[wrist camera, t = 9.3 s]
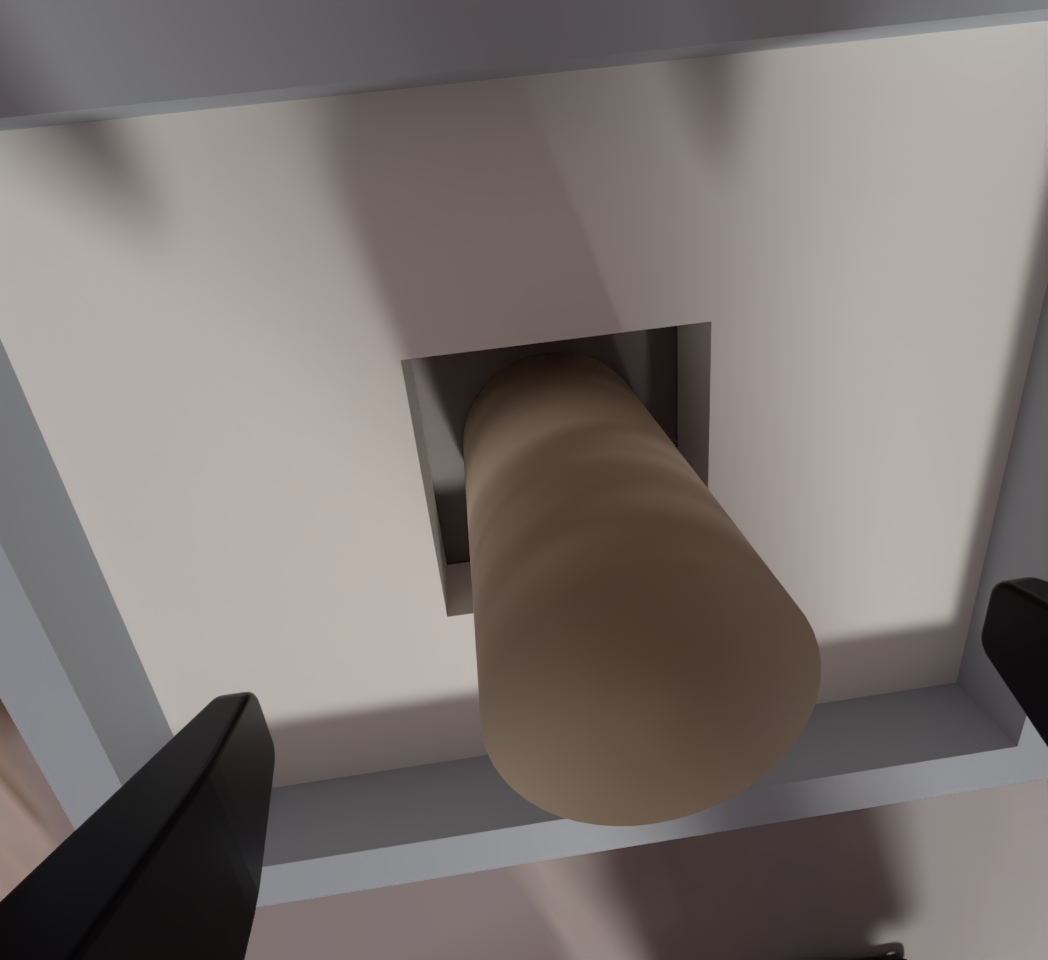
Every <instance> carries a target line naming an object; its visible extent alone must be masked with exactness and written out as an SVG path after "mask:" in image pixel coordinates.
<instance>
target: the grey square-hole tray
mask: <svg viewBox="0 0 1048 960" xmlns="http://www.w3.org/2000/svg"><path fill="white" fill-rule="evenodd" d="M671 326H678V450H679V452H680V453H681V454H682V456H683V457H684V458H685V460H686V461H687V462H688V463H689V465H690V466H691V467H692V469H693V470H694V471H695V473H696V474H697V475H698V476H699V478H700V479H701V480H702V482H703V483H704V484H705V486H706V487H707V488H708V489H709V491H710V492H711V493H712V495H713V496H714V497H715V499H716V500H717V501H718V503H719V504H720V505H721V506H722V508H723V509H724V510H725V512H726V513H727V514H728V516H729V517H730V518H731V519H732V521H733V522H734V523H735V525H736V526H737V527H738V529H739V530H740V531H741V533H742V534H743V535H744V536H745V538H746V539H747V540H748V542H749V543H750V544H751V546H752V547H753V548H754V549H755V551H756V552H757V553H758V555H759V556H760V557H761V559H762V560H763V561H764V563H765V564H766V565H767V566H768V568H769V569H770V570H771V572H772V573H773V574H774V576H775V577H776V578H777V579H778V581H779V582H780V583H781V585H782V586H783V587H784V589H785V590H786V591H787V592H788V594H789V595H790V596H791V598H792V599H793V600H794V602H795V603H796V604H797V606H798V607H799V608H800V609H801V611H802V612H803V613H804V615H805V616H806V618H807V620H808V622H809V624H810V625H811V627H812V629H813V631H814V634H815V637H816V640H817V643H818V646H819V652H820V659H821V682H820V687H819V692H818V697H817V700H816V703H815V706H814V709H813V712H812V714H811V717H810V718H809V720H808V722H807V724H806V726H805V728H804V730H803V732H802V733H801V735H800V736H799V738H798V739H797V740H796V742H795V743H794V745H793V746H792V748H791V749H790V750H789V751H788V752H787V753H786V754H785V756H784V757H783V758H782V759H781V760H780V761H779V762H778V763H777V764H776V765H775V766H774V767H773V768H772V769H771V770H770V771H768V772H767V773H766V774H765V775H764V776H763V777H761V778H760V779H759V780H757V781H756V782H755V783H753V784H752V785H751V786H749V787H748V788H746V789H744V790H743V791H741V792H740V793H738V794H736V795H735V796H733V797H731V798H729V799H727V800H725V801H723V802H721V803H719V804H717V805H715V806H713V807H711V808H708V809H706V810H703V811H701V812H698V813H696V814H692V815H689V816H686V817H682V818H679V819H676V820H671V821H666V822H661V823H656V824H648V825H639V826H604V825H594V824H588V823H582V822H577V821H573V820H570V819H566V818H563V817H559V816H557V815H555V814H552V813H550V812H547V811H545V810H543V809H541V808H539V807H537V806H536V805H534V804H532V803H531V802H529V801H527V800H526V799H525V798H523V797H522V796H521V795H519V794H518V793H517V792H516V791H514V790H513V789H512V788H511V787H510V786H509V785H508V784H507V783H506V781H505V780H504V779H503V778H502V777H501V776H500V774H499V773H498V771H497V770H496V768H495V767H494V765H493V764H492V762H491V759H490V757H489V755H488V753H487V751H486V748H485V744H484V741H483V737H482V733H481V721H480V706H479V691H478V675H477V659H476V643H475V628H474V612H473V596H472V581H471V565H470V562H464V563H457V564H450V565H447V563H446V557H445V551H444V546H443V540H442V534H441V528H440V523H439V517H438V511H437V506H436V500H435V494H434V488H433V483H432V477H431V471H430V465H429V460H428V454H427V448H426V443H425V437H424V431H423V425H422V420H421V414H420V408H419V402H418V397H417V391H416V385H415V380H414V374H413V368H412V362H411V359H415V358H423V357H431V356H439V355H447V354H455V353H463V352H471V351H479V350H487V349H495V348H503V347H511V346H519V345H527V344H535V343H543V342H551V341H559V340H567V339H575V338H583V337H591V336H599V335H607V334H615V333H623V332H631V331H639V330H647V329H655V328H663V327H671ZM1024 577H1035V578H1039V579H1042V580H1045V581H1048V0H0V698H1V700H2V702H3V704H4V705H5V707H6V709H7V711H8V712H9V714H10V716H11V718H12V720H13V721H14V723H15V725H16V727H17V728H18V730H19V732H20V734H21V735H22V737H23V739H24V741H25V742H26V744H27V746H28V748H29V750H30V751H31V753H32V755H33V757H34V758H35V760H36V762H37V763H38V765H39V767H40V769H41V771H42V772H43V774H44V776H45V778H46V780H47V781H48V783H49V785H50V787H51V788H52V790H53V792H54V794H55V795H56V797H57V799H58V801H59V802H60V804H61V806H62V808H63V810H64V811H65V813H66V815H67V817H68V818H69V820H70V822H71V824H72V825H73V827H74V829H75V830H76V829H77V828H78V827H79V826H81V825H82V824H83V823H84V822H85V821H86V820H87V819H88V818H89V817H90V816H91V815H92V814H93V813H94V812H95V811H96V810H97V809H98V808H99V807H100V806H102V805H103V804H104V803H105V802H106V801H107V800H108V799H109V798H110V797H111V796H112V795H113V794H114V793H115V792H116V791H117V790H118V789H119V788H120V787H121V786H123V785H124V784H125V783H126V782H127V781H128V780H129V779H130V778H131V777H132V776H133V775H134V774H135V773H136V772H137V771H138V770H139V769H140V768H141V767H142V766H144V765H145V764H146V763H147V762H148V761H149V760H150V759H151V758H152V757H153V756H154V755H155V754H156V753H157V752H158V751H159V750H160V749H161V748H162V747H163V746H165V745H166V744H167V743H168V742H169V741H170V740H171V739H172V738H173V737H174V736H175V735H176V734H177V733H178V732H179V731H180V730H181V729H182V728H183V727H184V726H186V725H187V724H188V723H189V722H190V721H191V720H192V719H193V718H194V717H195V716H196V715H197V714H198V713H199V712H200V711H201V710H202V709H203V708H204V707H205V706H207V705H208V704H209V703H210V702H211V701H212V700H213V699H214V698H216V697H218V696H221V695H227V694H234V693H240V692H251V693H254V694H255V695H256V697H257V698H258V700H259V703H260V706H261V708H262V711H263V714H264V717H265V720H266V723H267V725H268V728H269V731H270V734H271V737H272V740H273V743H274V749H275V765H274V773H273V782H272V790H271V799H270V807H269V816H268V824H267V833H266V841H265V850H264V858H263V867H262V874H261V882H260V889H259V895H258V900H257V905H256V907H261V906H268V905H273V904H279V903H286V902H292V901H298V900H305V899H311V898H317V897H323V896H328V895H335V894H341V893H348V892H354V891H360V890H366V889H372V888H378V887H385V886H391V885H397V884H403V883H409V882H415V881H421V880H428V879H434V878H440V877H446V876H452V875H458V874H464V873H471V872H477V871H483V870H488V869H495V868H502V867H508V866H514V865H520V864H526V863H532V862H538V861H545V860H551V859H557V858H563V857H569V856H575V855H582V854H588V853H594V852H600V851H606V850H612V849H618V848H625V847H631V846H637V845H643V844H649V843H655V842H662V841H668V840H674V839H680V838H686V837H692V836H698V835H705V834H711V833H717V832H723V831H729V830H735V829H742V828H748V827H754V826H760V825H766V824H772V823H778V822H785V821H791V820H797V819H803V818H809V817H815V816H822V815H828V814H834V813H840V812H846V811H852V810H859V809H865V808H871V807H877V806H883V805H889V804H895V803H902V802H908V801H914V800H920V799H926V798H932V797H939V796H945V795H951V794H957V793H963V792H969V791H975V790H982V789H988V788H994V787H1000V786H1006V785H1012V784H1019V783H1025V782H1031V781H1037V780H1043V779H1048V747H1047V746H1046V744H1045V743H1044V741H1043V740H1042V738H1041V737H1040V735H1039V733H1038V732H1037V730H1036V729H1035V727H1034V726H1033V724H1032V723H1031V721H1030V720H1029V718H1028V717H1027V715H1026V714H1025V712H1024V711H1023V709H1022V708H1021V706H1020V705H1019V703H1018V702H1017V700H1016V699H1015V697H1014V696H1013V694H1012V693H1011V691H1010V690H1009V688H1008V687H1007V685H1006V684H1005V682H1004V681H1003V679H1002V678H1001V676H1000V675H999V673H998V672H997V670H996V669H995V667H994V666H993V664H992V663H991V661H990V660H989V658H988V657H987V655H986V653H985V651H984V649H983V646H982V642H981V632H982V627H983V623H984V619H985V615H986V611H987V607H988V603H989V598H990V594H991V591H992V589H993V587H994V586H995V585H996V584H997V583H998V582H1000V581H1003V580H1010V579H1017V578H1024Z"/></svg>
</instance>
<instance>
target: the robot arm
mask: <svg viewBox="0 0 1048 960" xmlns="http://www.w3.org/2000/svg"><path fill="white" fill-rule="evenodd" d="M981 642H982V646H983V649H984V651H985V653H986V655H987V657H988V658H989V660H990V661H991V663H992V664H993V666H994V667H995V669H996V670H997V672H998V673H999V675H1000V676H1001V678H1002V679H1003V681H1004V682H1005V684H1006V685H1007V687H1008V688H1009V690H1010V691H1011V693H1012V694H1013V696H1014V697H1015V699H1016V700H1017V702H1018V703H1019V705H1020V706H1021V708H1022V709H1023V711H1024V712H1025V714H1026V715H1027V717H1028V718H1029V720H1030V721H1031V723H1032V724H1033V726H1034V727H1035V729H1036V730H1037V732H1038V733H1039V735H1040V737H1041V738H1042V740H1043V741H1044V743H1045V744H1046V746H1047V747H1048V581H1045V580H1042V579H1039V578H1035V577H1024V578H1017V579H1010V580H1003V581H1000V582H998V583H997V584H996V585H995V586H994V587H993V589H992V591H991V594H990V598H989V603H988V607H987V611H986V615H985V619H984V623H983V627H982V632H981ZM274 765H275V749H274V743H273V740H272V737H271V734H270V731H269V728H268V725H267V723H266V720H265V717H264V714H263V711H262V708H261V706H260V703H259V700H258V698H257V697H256V695H255V694H254V693H251V692H240V693H234V694H227V695H221V696H218V697H216V698H214V699H213V700H212V701H211V702H210V703H209V704H208V705H207V706H205V707H204V708H203V709H202V710H201V711H200V712H199V713H198V714H197V715H196V716H195V717H194V718H193V719H192V720H191V721H190V722H189V723H188V724H187V725H186V726H184V727H183V728H182V729H181V730H180V731H179V732H178V733H177V734H176V735H175V736H174V737H173V738H172V739H171V740H170V741H169V742H168V743H167V744H166V745H165V746H163V747H162V748H161V749H160V750H159V751H158V752H157V753H156V754H155V755H154V756H153V757H152V758H151V759H150V760H149V761H148V762H147V763H146V764H145V765H144V766H142V767H141V768H140V769H139V770H138V771H137V772H136V773H135V774H134V775H133V776H132V777H131V778H130V779H129V780H128V781H127V782H126V783H125V784H124V785H123V786H121V787H120V788H119V789H118V790H117V791H116V792H115V793H114V794H113V795H112V796H111V797H110V798H109V799H108V800H107V801H106V802H105V803H104V804H103V805H102V806H100V807H99V808H98V809H97V810H96V811H95V812H94V813H93V814H92V815H91V816H90V817H89V818H88V819H87V820H86V821H85V822H84V823H83V824H82V825H81V826H79V827H78V828H77V829H76V830H75V831H74V832H73V833H72V834H71V835H70V836H69V837H68V838H67V839H66V840H65V841H64V842H63V843H62V844H61V845H60V846H58V847H57V848H56V849H55V850H54V851H53V852H52V853H51V854H50V855H49V856H48V857H47V858H46V859H45V860H44V861H43V862H42V863H41V864H40V865H39V866H37V867H36V868H35V869H34V870H33V871H32V872H31V873H30V874H29V875H28V876H27V877H26V878H25V879H24V880H23V881H22V882H21V883H20V884H19V885H18V886H16V887H15V888H14V889H13V890H12V891H11V892H10V893H9V894H8V895H7V896H6V897H5V898H4V899H3V900H2V901H1V902H0V960H244V959H245V954H246V950H247V945H248V941H249V937H250V932H251V928H252V924H253V919H254V915H255V910H256V905H257V900H258V895H259V889H260V882H261V874H262V867H263V858H264V850H265V841H266V833H267V824H268V816H269V807H270V799H271V790H272V782H273V773H274ZM893 960H907V959H903V958H900V959H893Z"/></svg>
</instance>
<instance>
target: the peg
mask: <svg viewBox="0 0 1048 960" xmlns="http://www.w3.org/2000/svg"><path fill="white" fill-rule="evenodd" d="M463 455H464V471H465V486H466V502H467V518H468V533H469V549H470V565H471V581H472V596H473V612H474V628H475V643H476V659H477V675H478V691H479V706H480V721H481V733H482V737H483V741H484V744H485V748H486V751H487V753H488V755H489V757H490V759H491V762H492V764H493V765H494V767H495V768H496V770H497V771H498V773H499V774H500V776H501V777H502V778H503V779H504V780H505V781H506V783H507V784H508V785H509V786H510V787H511V788H512V789H513V790H514V791H516V792H517V793H518V794H519V795H521V796H522V797H523V798H525V799H526V800H527V801H529V802H531V803H532V804H534V805H536V806H537V807H539V808H541V809H543V810H545V811H547V812H550V813H552V814H555V815H557V816H559V817H563V818H566V819H570V820H573V821H577V822H582V823H588V824H594V825H604V826H639V825H648V824H656V823H661V822H666V821H671V820H676V819H679V818H682V817H686V816H689V815H692V814H696V813H698V812H701V811H703V810H706V809H708V808H711V807H713V806H715V805H717V804H719V803H721V802H723V801H725V800H727V799H729V798H731V797H733V796H735V795H736V794H738V793H740V792H741V791H743V790H744V789H746V788H748V787H749V786H751V785H752V784H753V783H755V782H756V781H757V780H759V779H760V778H761V777H763V776H764V775H765V774H766V773H767V772H768V771H770V770H771V769H772V768H773V767H774V766H775V765H776V764H777V763H778V762H779V761H780V760H781V759H782V758H783V757H784V756H785V754H786V753H787V752H788V751H789V750H790V749H791V748H792V746H793V745H794V743H795V742H796V740H797V739H798V738H799V736H800V735H801V733H802V732H803V730H804V728H805V726H806V724H807V722H808V720H809V718H810V717H811V714H812V712H813V709H814V706H815V703H816V700H817V697H818V692H819V687H820V682H821V659H820V652H819V646H818V643H817V640H816V637H815V634H814V631H813V629H812V627H811V625H810V624H809V622H808V620H807V618H806V616H805V615H804V613H803V612H802V611H801V609H800V608H799V607H798V606H797V604H796V603H795V602H794V600H793V599H792V598H791V596H790V595H789V594H788V592H787V591H786V590H785V589H784V587H783V586H782V585H781V583H780V582H779V581H778V579H777V578H776V577H775V576H774V574H773V573H772V572H771V570H770V569H769V568H768V566H767V565H766V564H765V563H764V561H763V560H762V559H761V557H760V556H759V555H758V553H757V552H756V551H755V549H754V548H753V547H752V546H751V544H750V543H749V542H748V540H747V539H746V538H745V536H744V535H743V534H742V533H741V531H740V530H739V529H738V527H737V526H736V525H735V523H734V522H733V521H732V519H731V518H730V517H729V516H728V514H727V513H726V512H725V510H724V509H723V508H722V506H721V505H720V504H719V503H718V501H717V500H716V499H715V497H714V496H713V495H712V493H711V492H710V491H709V489H708V488H707V487H706V486H705V484H704V483H703V482H702V480H701V479H700V478H699V476H698V475H697V474H696V473H695V471H694V470H693V469H692V467H691V466H690V465H689V463H688V462H687V461H686V460H685V458H684V457H683V456H682V454H681V453H680V452H679V450H678V449H677V448H676V446H675V445H674V444H673V443H672V441H671V440H670V439H669V437H668V436H667V435H666V433H665V432H664V431H663V430H662V428H661V427H660V426H659V424H658V423H657V422H656V420H655V419H654V418H653V416H652V415H651V414H650V413H649V411H648V410H647V409H646V407H645V406H644V405H643V403H642V402H641V401H640V400H639V398H638V397H637V396H636V394H635V393H634V392H633V390H632V389H631V388H630V387H629V385H628V384H627V383H626V382H625V380H624V379H623V378H622V377H621V376H620V375H619V374H617V373H616V372H615V371H614V370H612V369H611V368H609V367H608V366H607V365H605V364H603V363H601V362H599V361H597V360H595V359H592V358H589V357H586V356H583V355H578V354H573V353H561V352H559V353H545V354H540V355H535V356H532V357H529V358H526V359H523V360H520V361H518V362H516V363H514V364H512V365H510V366H509V367H507V368H505V369H504V370H502V371H501V372H499V373H498V374H497V375H496V376H495V377H494V378H492V379H491V380H490V381H489V382H488V383H487V384H486V385H485V387H484V388H483V389H482V390H481V392H480V393H479V394H478V396H477V397H476V399H475V400H474V402H473V404H472V406H471V408H470V410H469V413H468V416H467V419H466V422H465V427H464V432H463Z"/></svg>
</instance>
